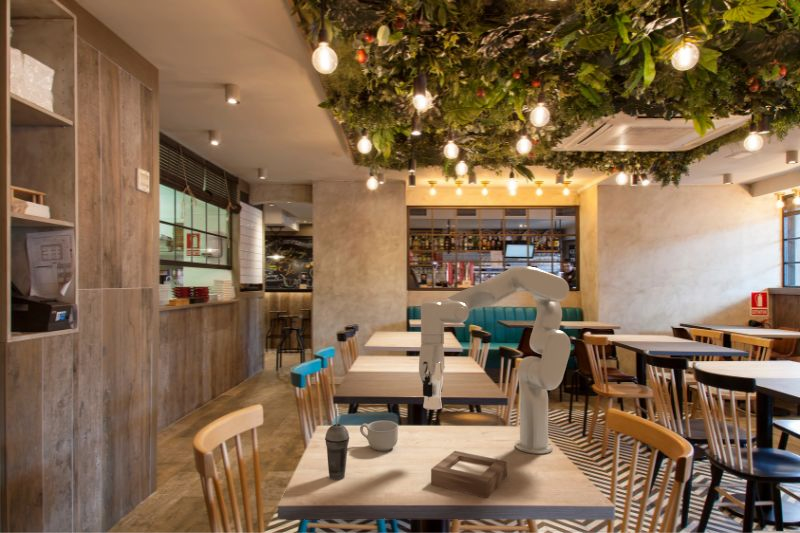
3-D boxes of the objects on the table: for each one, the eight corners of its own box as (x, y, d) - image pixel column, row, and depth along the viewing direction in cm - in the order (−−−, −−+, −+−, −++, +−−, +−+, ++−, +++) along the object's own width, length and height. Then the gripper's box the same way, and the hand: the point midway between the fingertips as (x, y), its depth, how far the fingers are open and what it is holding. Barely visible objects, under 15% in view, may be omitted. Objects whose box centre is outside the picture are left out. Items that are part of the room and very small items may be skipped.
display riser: (454, 465, 158) (454, 450, 158) (507, 476, 149) (507, 461, 149) (431, 484, 143) (431, 468, 143) (487, 498, 135) (487, 481, 135)
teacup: (403, 446, 175) (404, 423, 175) (386, 456, 165) (386, 431, 166) (371, 439, 182) (371, 417, 182) (353, 447, 173) (353, 424, 173)
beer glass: (441, 410, 159) (441, 363, 159) (420, 409, 161) (420, 362, 161) (444, 405, 166) (444, 359, 166) (423, 403, 167) (423, 359, 168)
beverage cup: (329, 484, 143) (329, 414, 143) (321, 474, 150) (321, 408, 150) (352, 479, 146) (353, 411, 147) (344, 470, 153) (344, 405, 153)
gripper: (434, 335, 173) (434, 387, 173) (409, 341, 158) (409, 398, 158) (453, 337, 169) (454, 389, 169) (430, 343, 154) (430, 401, 154)
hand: (432, 393), depth 163 cm, fingers closed on beer glass, 6 cm apart
